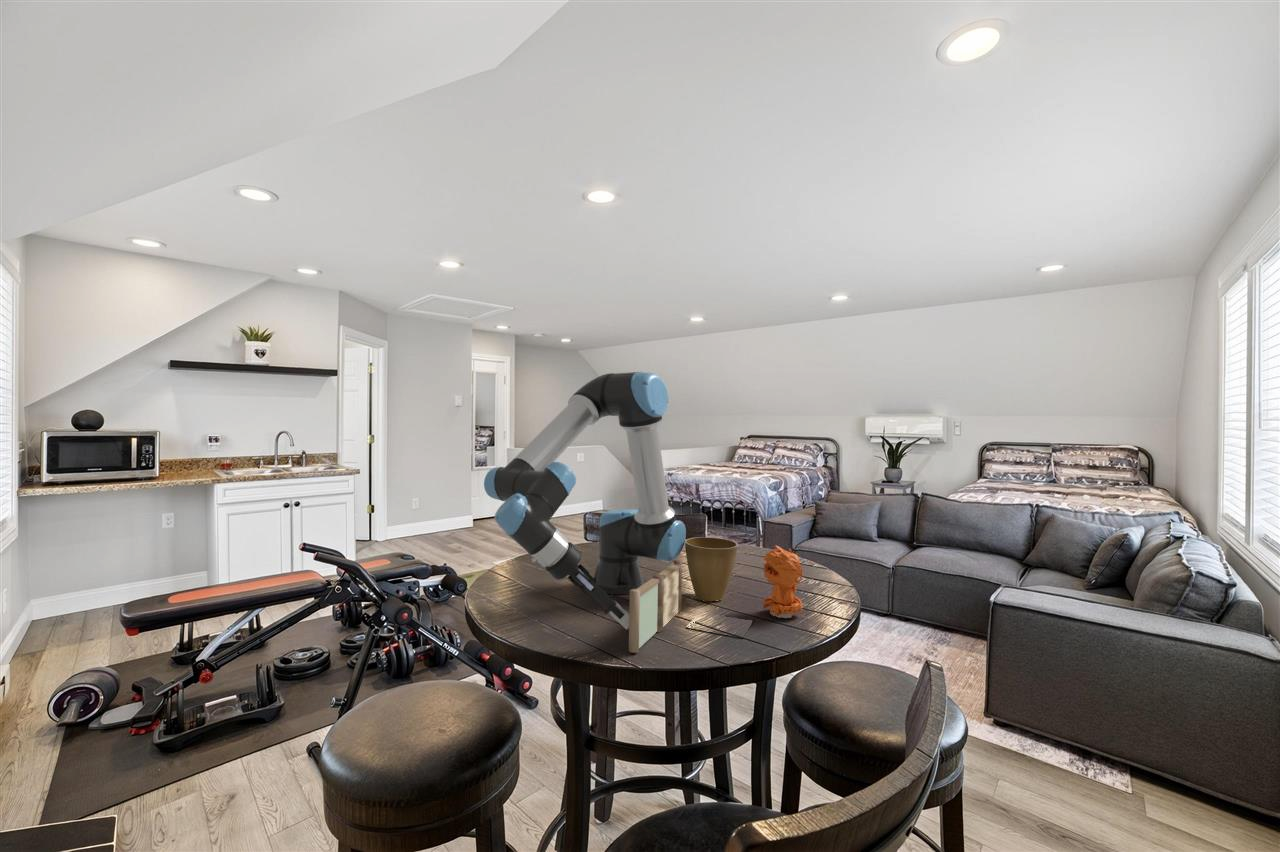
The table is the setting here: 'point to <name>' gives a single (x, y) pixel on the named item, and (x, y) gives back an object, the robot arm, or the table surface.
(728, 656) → the table surface
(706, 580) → the plant pot
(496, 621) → the table surface
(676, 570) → the fence fixed
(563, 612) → the table surface
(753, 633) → the table surface
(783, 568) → the orange figurine
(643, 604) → the fence gate
